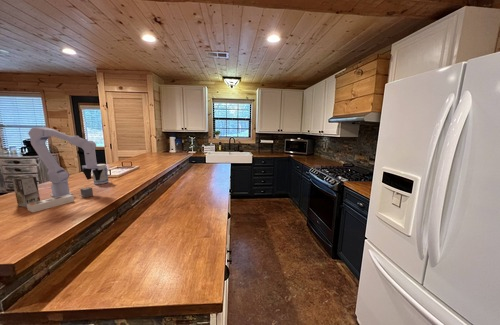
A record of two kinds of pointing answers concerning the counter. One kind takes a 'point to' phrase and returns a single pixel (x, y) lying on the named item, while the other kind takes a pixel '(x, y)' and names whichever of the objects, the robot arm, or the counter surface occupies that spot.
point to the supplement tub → (103, 175)
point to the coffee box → (26, 190)
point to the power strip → (50, 203)
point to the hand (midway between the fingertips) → (93, 179)
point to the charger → (86, 192)
